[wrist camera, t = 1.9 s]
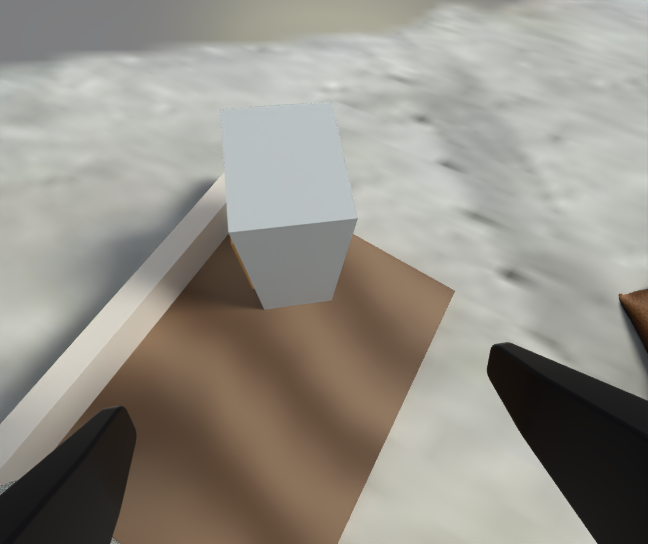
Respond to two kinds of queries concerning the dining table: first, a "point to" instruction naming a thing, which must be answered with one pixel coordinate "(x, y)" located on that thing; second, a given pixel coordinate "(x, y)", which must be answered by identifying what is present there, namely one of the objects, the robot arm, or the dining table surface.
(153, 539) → the shelf board
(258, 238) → the carton
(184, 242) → the rail
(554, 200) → the dining table surface
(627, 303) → the sunglasses case
